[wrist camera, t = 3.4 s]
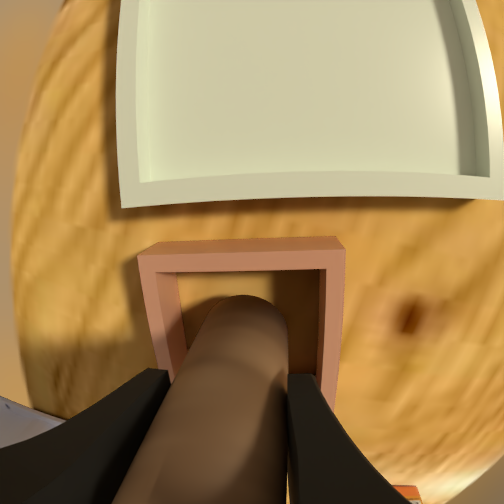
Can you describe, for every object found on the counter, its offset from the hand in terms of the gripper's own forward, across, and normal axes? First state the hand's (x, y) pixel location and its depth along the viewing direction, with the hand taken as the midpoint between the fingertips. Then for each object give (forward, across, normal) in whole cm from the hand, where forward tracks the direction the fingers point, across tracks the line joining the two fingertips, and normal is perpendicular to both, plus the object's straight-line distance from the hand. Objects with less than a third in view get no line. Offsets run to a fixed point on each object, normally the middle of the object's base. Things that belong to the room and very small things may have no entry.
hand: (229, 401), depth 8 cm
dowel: (+4, 0, 0) cm, 4 cm away
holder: (+5, 0, 0) cm, 5 cm away
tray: (+5, -3, -10) cm, 12 cm away
